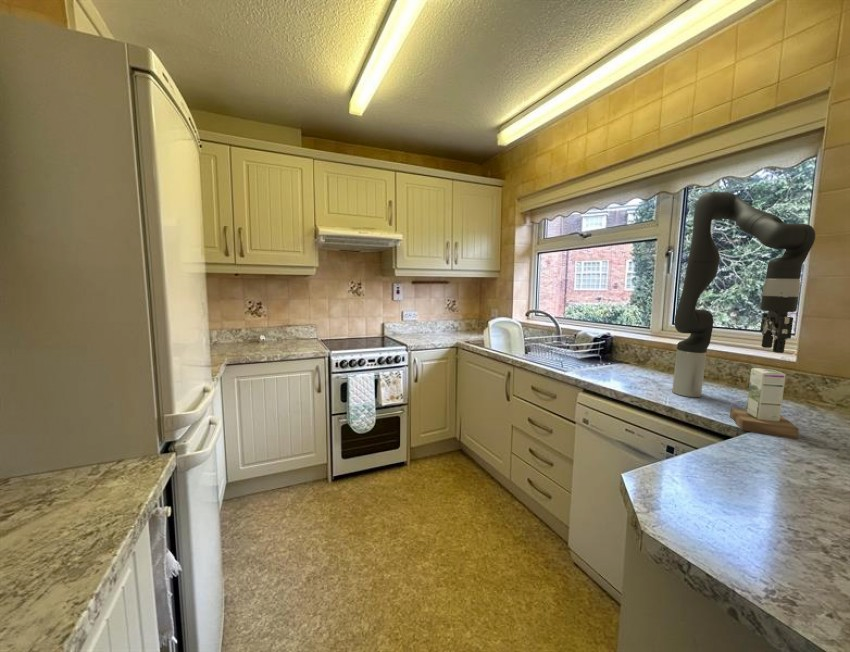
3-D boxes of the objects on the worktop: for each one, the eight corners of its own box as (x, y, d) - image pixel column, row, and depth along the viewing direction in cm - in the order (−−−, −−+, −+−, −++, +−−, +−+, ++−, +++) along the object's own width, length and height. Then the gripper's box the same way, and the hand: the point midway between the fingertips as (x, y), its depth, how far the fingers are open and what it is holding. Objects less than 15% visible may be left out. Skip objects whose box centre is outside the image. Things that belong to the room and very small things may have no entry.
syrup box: (780, 422, 103) (787, 373, 102) (756, 419, 105) (763, 371, 103) (767, 415, 109) (773, 369, 107) (744, 413, 110) (750, 367, 109)
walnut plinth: (729, 416, 115) (730, 407, 115) (779, 424, 110) (780, 414, 109) (741, 430, 105) (743, 420, 104) (797, 438, 99) (798, 428, 99)
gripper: (754, 293, 110) (747, 345, 112) (772, 295, 98) (764, 352, 100) (787, 294, 107) (779, 347, 109) (810, 296, 94) (800, 355, 96)
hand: (772, 350), depth 104 cm, fingers open, 8 cm apart
